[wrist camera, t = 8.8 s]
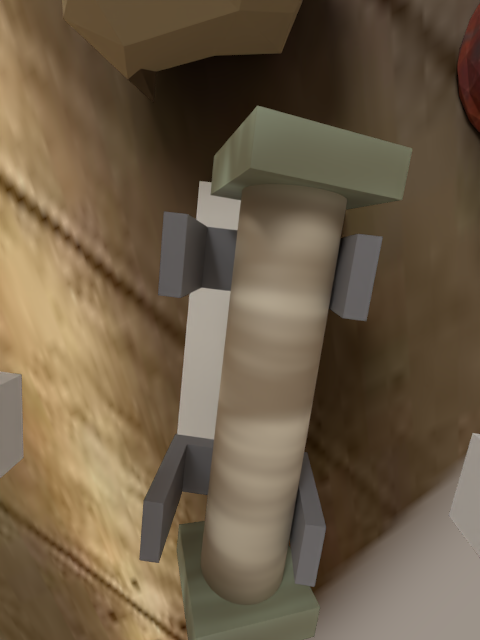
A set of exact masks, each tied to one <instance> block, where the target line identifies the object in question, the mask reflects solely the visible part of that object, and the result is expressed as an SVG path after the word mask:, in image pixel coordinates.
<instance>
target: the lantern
mask: <svg viewBox="0 0 480 640" xmlns="http://www.w3.org/2000/svg"><path fill="white" fill-rule="evenodd" d="M457 70H458V86H459V97H460V99H461V101H462V104H463V106H464V109H465V111H466V114H467V116H468V118H469V121H470V122H471V123H472V124H473V126H474V127H475V128H476V129H477V130H478V131H479V132H480V4H479V5H478V7H477V8H476V10H475V12H474V14H473V15H472V17H471V19H470V21H469V24H468V27H467V30H466V32H465V35H464V38H463V41H462V44H461V47H460V51H459V58H458V66H457Z"/></svg>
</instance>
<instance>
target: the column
mask: <svg viewBox="0 0 480 640" xmlns="http://www.w3.org/2000/svg"><path fill="white" fill-rule="evenodd" d="M411 153H412V148H409V147H405V146H402V145H398V144H394V143H391V142H387V141H383V140H380V139H376V138H373V137H369V136H365V135H362V134H358V133H355V132H351V131H347V130H344V129H340V128H337V127H333V126H329V125H326V124H322V123H319V122H315V121H311V120H308V119H304V118H301V117H297V116H293V115H290V114H286V113H283V112H279V111H275V110H272V109H268V108H265V107H261V106H257V107H256V108H255V109H254V110H253V111H252V113H251V114H250V115H249V116H248V117H247V118H246V120H245V121H244V122H243V123H242V124H241V125H240V126H239V128H238V129H237V130H236V131H235V132H234V133H233V135H232V136H231V137H230V138H229V139H228V140H227V142H226V143H225V144H224V145H223V146H222V147H221V149H220V150H219V151H218V152H217V153H216V154H215V156H214V163H213V173H212V184H211V194H210V195H213V196H218V197H224V198H230V199H235V200H241V204H240V213H239V222H238V231H237V240H236V248H235V257H234V266H233V275H232V284H231V293H230V302H229V311H228V320H227V329H226V338H225V346H224V355H223V364H222V373H221V382H220V391H219V400H218V409H217V418H216V427H215V435H214V444H213V453H212V462H211V471H210V480H209V489H208V498H207V507H206V516H205V521H201V522H194V523H187V524H180V525H179V531H178V541H177V556H178V564H179V572H180V580H181V588H182V595H183V603H184V611H185V619H186V626H187V634H188V640H304V639H307V638H311V637H314V635H315V630H316V625H317V620H318V615H319V610H320V606H319V604H318V602H317V600H316V598H315V596H314V594H313V592H312V590H311V588H310V586H306V585H300V584H295V581H294V572H293V563H292V554H291V548H290V546H289V538H290V532H291V526H292V520H293V515H294V509H295V503H296V497H297V491H298V485H299V480H300V474H301V468H302V462H303V456H304V450H305V444H306V439H307V433H308V427H309V421H310V415H311V409H312V404H313V398H314V392H315V386H316V380H317V374H318V368H319V363H320V357H321V351H322V345H323V339H324V333H325V328H326V322H327V316H328V310H329V304H330V298H331V292H332V287H333V281H334V275H335V269H336V263H337V257H338V251H339V246H340V240H341V234H342V228H343V222H344V216H345V211H346V209H352V208H358V207H364V206H370V205H375V204H381V203H387V202H393V201H399V200H402V198H403V193H404V188H405V183H406V178H407V173H408V168H409V163H410V158H411Z"/></svg>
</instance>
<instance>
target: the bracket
mask: <svg viewBox="0 0 480 640" xmlns="http://www.w3.org/2000/svg"><path fill="white" fill-rule="evenodd" d="M211 184H212V182H203V181H200V182H199V193H198V205H197V216H196V219H195V218H193V217H191V216H190V215H188V214H182V213H173V212H164V218H163V233H162V247H161V261H160V275H159V290H158V295H161V296H169V297H177V298H182V297H184V296H186V295H188V294H190V295H189V306H188V317H187V329H186V340H185V351H184V363H183V374H182V385H181V397H180V408H179V419H178V430H177V434H175V436H174V438H173V440H172V442H171V444H170V446H169V449H168V451H167V453H166V455H165V457H164V459H163V461H162V463H161V465H160V467H159V470H158V472H157V474H156V476H155V478H154V480H153V482H152V484H151V486H150V488H149V491H148V493H147V495H146V497H145V499H144V503H143V517H142V531H141V546H140V560H142V561H149V562H156V563H159V560H160V557H161V554H162V551H163V548H164V545H165V542H166V539H167V536H168V533H169V530H170V527H171V524H172V521H173V518H174V515H175V512H176V509H177V506H178V503H179V500H180V497H181V494H182V491H183V492H190V493H197V494H204V495H208V489H209V480H210V471H211V462H212V453H213V444H214V435H215V427H216V418H217V409H218V400H219V391H220V382H221V373H222V364H223V355H224V346H225V338H226V329H227V320H228V311H229V302H230V293H231V284H232V275H233V266H234V257H235V248H236V240H237V231H238V222H239V213H240V204H241V200H235V199H230V198H224V197H218V196H213V195H210V194H211ZM382 238H383V237H380V236H372V235H363V234H356V235H352V236H348V237H344V238H341V240H340V246H339V251H338V257H337V263H336V269H335V275H334V281H333V287H332V292H331V298H330V304H329V309H330V310H332V311H333V312H335V313H336V314H338V315H339V316H340V317H342V318H346V319H354V320H362V321H366V320H367V315H368V310H369V305H370V299H371V294H372V289H373V284H374V279H375V274H376V269H377V263H378V258H379V253H380V248H381V243H382ZM325 531H326V525H325V521H324V517H323V513H322V509H321V505H320V501H319V497H318V493H317V489H316V485H315V481H314V477H313V473H312V469H311V465H310V461H309V457H308V453H307V452H304V456H303V462H302V468H301V474H300V480H299V485H298V491H297V497H296V503H295V509H294V515H293V520H292V526H291V532H290V545H291V554H292V563H293V572H294V581H295V584H300V585H306V586H313V587H315V582H316V577H317V572H318V567H319V562H320V556H321V551H322V546H323V541H324V536H325Z"/></svg>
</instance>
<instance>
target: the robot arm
mask: <svg viewBox="0 0 480 640" xmlns="http://www.w3.org/2000/svg"><path fill="white" fill-rule="evenodd" d="M22 458H23V419H22V375H21V374H14V373H7V372H0V478H1V477H2V476H3V475H4V474H5V473H6V472H8V471H9V470H10V469H11V468H12V467H13V466H14V465H16V464H17V463H18V462H19V461H20V460H21V459H22ZM449 517H450V518H451V519H452V521H453V522H454V524H455V525H456V526H457V528H458V529H459V530H460V532H461V533H462V534H463V536H464V537H465V539H466V540H467V541H468V543H469V544H470V545H471V547H472V548H473V549H474V551H475V552H476V553H477V555H478V556H479V557H480V434H475V433H473V434H472V437H471V440H470V444H469V447H468V451H467V454H466V458H465V461H464V464H463V468H462V471H461V475H460V478H459V482H458V485H457V489H456V492H455V496H454V499H453V502H452V506H451V509H450V513H449Z"/></svg>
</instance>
